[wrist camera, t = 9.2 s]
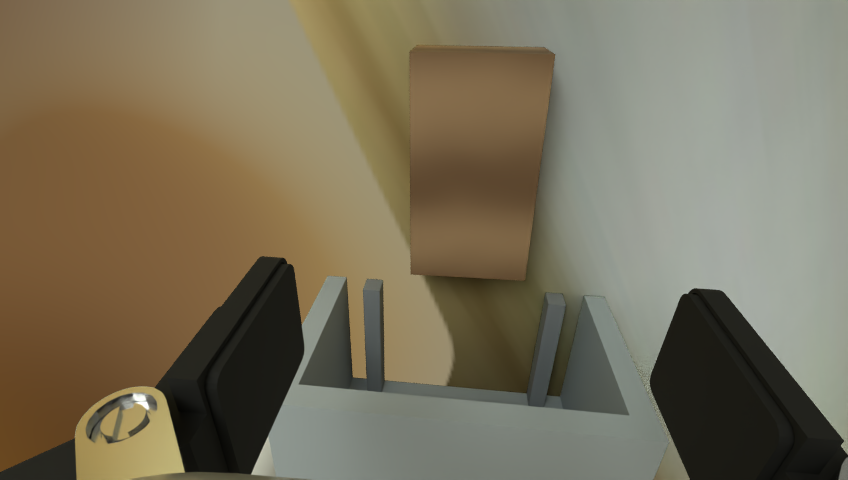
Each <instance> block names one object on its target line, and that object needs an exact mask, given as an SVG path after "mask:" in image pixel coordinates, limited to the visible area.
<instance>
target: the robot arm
mask: <svg viewBox="0 0 848 480" xmlns="http://www.w3.org/2000/svg"><path fill="white" fill-rule="evenodd" d="M304 348H305V347H304V338H303V331H302V324H301V317H300V309H299V302H298V295H297V287H296V280H295V273H294V267H293V266H292V265H291V264H287V261H286V260H285V259H284V258H277V257H264V256H262V257H260V258H259V259H258V260H257V261H256V262H255V264H254V265H253V266H252V267H251V269H250V270H249V271H248V273H247V274H246V275H245V277H244V278H243V279H242V280H241V282H240V283H239V284H238V286H237V287H236V288H235V289H234V291H233V292H232V293H231V295H230V296H229V297H228V299H227V300H226V301H225V302H224V304H223V305H222V306H221V307H218V308H217V309H216V310H215V311H214V312H213V314H212V315H211V316H210V318H209V319H208V320H207V321H206V323H205V324H204V325H203V326H202V328H201V329H200V330H199V332H198V333H197V334H196V335H195V337H194V338H193V339H192V341H191V342H190V343H189V344H188V346H187V347H186V348H185V350H184V351H183V352H182V353H181V355H180V356H179V357H178V358H177V360H176V361H175V362H174V364H173V365H172V366H171V368H170V369H169V370H168V371H167V373H166V374H165V375H164V376H163V378H162V379H161V380H160V381H159V383H158V384H157V385H156V387H155V388H152V387H146V386H142V387H131V388H127V389H124V390H120V391H118V392H115V393H113V394H111V395H109V396H107V397H105V398H103V399H102V400H101V401H99V402H98V403H96V404H95V405H93V406H92V407H91V408H90V409H89V410H88V411H87V412H86V413H85V414H84V415H83V417H82V418H81V420H80V422H79V423H78V425H77V428H76V433H75V438H74V439H72V440H70V441H68V442H66V443H64V444H61V445H59V446H57V447H55V448H52V449H50V450H48V451H46V452H44V453H41V454H39V455H37V456H35V457H33V458H31V459H28V460H26V461H24V462H22V463H19V464H17V465H15V466H13V467H11V468H8V469H6V470H4V471H2V472H0V480H311V479H299V478H287V477H275V476H263V475H251V473H252V471H253V469H254V466H255V464H256V462H257V460H258V458H259V455H260V453H261V451H262V449H263V446H264V444H265V442H266V440H267V438H268V435H269V433H270V431H271V429H272V426H273V424H274V422H275V420H276V417H277V415H278V413H279V411H280V409H281V406H282V404H283V402H284V400H285V397H286V395H287V393H288V391H289V389H290V386H291V384H292V382H293V380H294V377H295V375H296V373H297V371H298V369H299V366H300V364H301V362H302V359H303V356H304ZM650 387H651V391H652V393H653V396H654V398H655V400H656V403H657V405H658V407H659V410H660V412H661V414H662V416H663V419H664V421H665V423H666V426H667V428H668V430H669V432H670V435H671V437H672V439H673V442H674V444H675V446H676V448H677V451H678V453H679V455H680V458H681V460H682V462H683V464H684V467H685V469H686V471H687V474H688V476H689V478H690V480H848V455H847V453H846V452H845V451H844V450H843V448H842V447H841V444H842V443H843V442H844V440H843V439H842V438H841V436H840V435H839V434H838V433H837V432H836V430H835V429H834V428H833V427H832V425H831V424H830V423H829V422H828V420H827V419H826V418H825V417H824V415H823V414H822V413H821V412H820V411H819V409H818V408H817V407H816V406H815V404H814V403H813V402H812V401H811V399H810V398H809V397H808V396H807V394H806V393H805V392H804V391H803V390H802V388H801V387H800V386H799V385H798V383H797V382H796V381H795V380H794V378H793V377H792V376H791V375H790V373H789V372H788V371H787V370H786V369H785V367H784V366H783V365H782V364H781V362H780V361H779V360H778V359H777V357H776V356H775V355H774V354H773V352H772V351H771V350H770V349H769V347H768V346H767V345H766V344H765V343H764V341H763V340H762V339H761V338H760V336H759V335H758V334H757V333H756V331H755V330H754V329H753V328H752V326H751V325H750V324H749V323H748V322H747V320H746V319H745V318H744V317H743V315H742V314H741V313H740V312H739V310H738V309H737V308H736V307H735V305H734V304H733V303H732V302H731V301H730V299H729V298H728V297H727V296H726V294H725V293H724V292H722V291H720V290H710V289H697V288H694V289H692V290H691V291H690V292H689V293H688V294H683V295H682V296H681V298H680V301H679V303H678V306H677V308H676V311H675V314H674V316H673V319H672V321H671V324H670V327H669V329H668V332H667V334H666V337H665V340H664V342H663V345H662V347H661V350H660V353H659V355H658V358H657V361H656V363H655V366H654V368H653V371H652V374H651V377H650Z"/></svg>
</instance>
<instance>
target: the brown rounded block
mask: <svg viewBox="0 0 848 480" xmlns="http://www.w3.org/2000/svg"><path fill="white" fill-rule="evenodd" d="M554 60H555V54H554V53H552V52H551V51H549V50H548V49H546V48H544V47H498V46H443V45H417V46H416V47H414V48H413V49H412V50H411V51H410V225H411V274H414V275H432V276H450V277H468V278H485V279H503V280H521V281H525V276H526V268H527V261H528V254H529V246H530V239H531V231H532V224H533V216H534V209H535V202H536V194H537V187H538V179H539V172H540V164H541V157H542V150H543V142H544V135H545V127H546V120H547V112H548V105H549V98H550V90H551V83H552V75H553V68H554Z"/></svg>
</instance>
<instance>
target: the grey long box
mask: <svg viewBox="0 0 848 480" xmlns="http://www.w3.org/2000/svg"><path fill="white" fill-rule="evenodd" d="M363 299H364V325H365V350H366V374H367V379H363V378H353V375H352V359H351V342H350V327H349V309H348V292H347V278H346V277H337V276H327V278H326V280H325V282H324V284H323V286H322V288H321V290H320V292H319V294H318V296H317V298H316V300H315V302H314V303H313V305H312V307H311V309H310V311H309V313H308V315H307V317H306V319H305V321H304V323H303V324H302V331H303V338H304V347H305V348H304V356H303V359H302V362H301V364H300V366H299V369H298V371H297V373H296V375H295V377H294V380H293V382H292V384H291V386H290V389H289V391H288V393H287V395H286V397H285V400H284V402H283V404H282V406H281V409H280V411H279V413H278V415H277V417H276V420H275V422H274V424H273V426H272V429H271V431H270V433H269V435H268V437H269V443H270V448H271V453H272V458H273V463H274V468H275V473H276V477H287V478H299V479H311V480H653V479H654V477H655V475H656V472H657V470H658V467H659V465H660V463H661V460H662V458H663V456H664V453H665V451H666V449H667V446H668V444H669V441H668V438H667V436H666V434H665V432H664V430H663V427H662V425H661V423H660V421H659V418H658V416H657V414H656V412H655V409H654V407H653V405H652V403H651V400H650V398H649V396H648V394H647V391H646V389H645V387H644V385H643V382H642V380H641V378H640V376H639V373H638V371H637V369H636V367H635V364H634V362H633V360H632V358H631V355H630V353H629V351H628V349H627V346H626V344H625V342H624V340H623V337H622V335H621V333H620V331H619V329H618V326H617V324H616V322H615V320H614V317H613V315H612V313H611V311H610V308H609V306H608V304H607V302H606V299H605V297H598V296H585V295H584V298H583V303H582V307H581V311H580V315H579V319H578V324H577V328H576V332H575V336H574V340H573V345H572V349H571V353H570V357H569V361H568V366H567V370H566V374H565V378H564V382H563V387H562V391H561V395H560V397H559V396H548V395H547V390H548V386H549V381H550V376H551V372H552V367H553V363H554V358H555V354H556V349H557V344H558V340H559V335H560V331H561V326H562V321H563V317H564V312H565V308H566V304H565V301H564V298H563V294H559V293H545V299H544V304H543V309H542V314H541V320H540V325H539V330H538V336H537V341H536V346H535V352H534V357H533V362H532V367H531V373H530V378H529V383H528V389H527V393H516V392H505V391H494V390H483V389H472V388H461V387H451V386H439V385H429V384H417V383H407V382H396V381H385V380H384V321H383V320H384V319H383V317H384V316H383V280H377V279H376V280H375V279H367V280H366V283H365V286H364V288H363Z"/></svg>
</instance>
